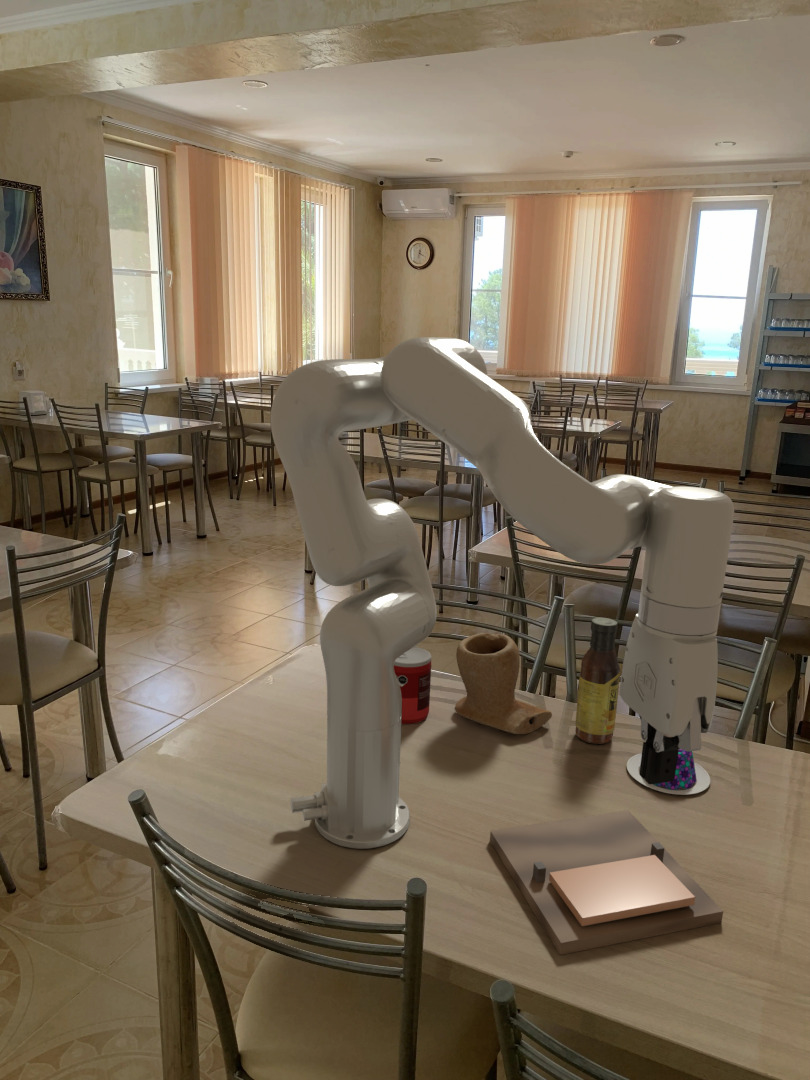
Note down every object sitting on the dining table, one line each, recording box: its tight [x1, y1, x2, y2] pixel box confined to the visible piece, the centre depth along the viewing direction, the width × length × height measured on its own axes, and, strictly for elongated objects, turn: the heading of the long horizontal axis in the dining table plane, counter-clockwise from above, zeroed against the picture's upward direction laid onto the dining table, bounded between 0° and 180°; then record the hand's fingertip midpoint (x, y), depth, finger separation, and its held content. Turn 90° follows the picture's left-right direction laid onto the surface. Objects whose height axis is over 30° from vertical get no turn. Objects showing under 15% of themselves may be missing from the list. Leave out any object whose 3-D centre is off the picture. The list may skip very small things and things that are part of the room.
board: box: [489, 809, 724, 955], centre depth 96 cm, size 20×20×3 cm
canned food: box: [394, 646, 432, 725], centre depth 135 cm, size 8×8×11 cm
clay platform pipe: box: [454, 632, 553, 735], centre depth 133 cm, size 15×12×15 cm
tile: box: [549, 855, 695, 926], centre depth 92 cm, size 8×14×1 cm, turn 106°
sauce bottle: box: [574, 617, 621, 745], centre depth 129 cm, size 6×6×20 cm
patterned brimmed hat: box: [626, 749, 711, 795], centre depth 120 cm, size 12×12×5 cm
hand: (656, 778), depth 84 cm, fingers closed
